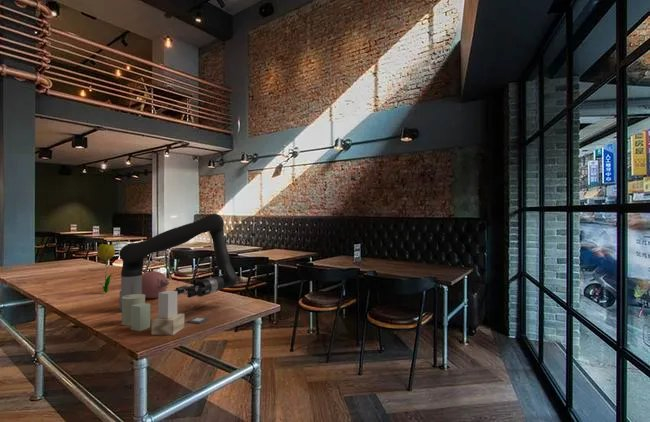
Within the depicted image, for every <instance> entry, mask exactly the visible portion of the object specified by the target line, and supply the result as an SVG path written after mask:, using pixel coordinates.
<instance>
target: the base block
mask: <svg viewBox="0 0 650 422" xmlns="http://www.w3.org/2000/svg"><path fill="white" fill-rule="evenodd" d="M184 328H185V313H177V316H174V317H171V318H169V319H166V318H158V316H156V317H154V318H152V319H151V335H156V336H157V335H160V336H161V335H163V336H174V335H176V334H177V333H179V332H180V331H181V330H182V329H184Z"/></svg>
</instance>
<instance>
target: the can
mask: <svg viewBox="0 0 650 422" xmlns="http://www.w3.org/2000/svg"><path fill="white" fill-rule="evenodd" d="M139 303H146V298H145V295H144V294H131V295H126V296H123V297H122V311H121V323H120V324H121V325H122V326H130V327H131V306H132V305H135V304H139Z"/></svg>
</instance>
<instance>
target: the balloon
mask: <svg viewBox="0 0 650 422" xmlns="http://www.w3.org/2000/svg"><path fill="white" fill-rule="evenodd" d="M169 284H170V280H169V279H168V278H167V277H166V275H164V274H163V273H162V272H161V271H156V270H152V271H151V270H150V271H148V272H145V273H144V274H142V294H144V295H145V299H150V300H151V299H156V298H159V293H161V292H164V291H167V288H168V286H169Z"/></svg>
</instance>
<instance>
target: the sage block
mask: <svg viewBox="0 0 650 422" xmlns="http://www.w3.org/2000/svg"><path fill="white" fill-rule="evenodd" d="M149 328H151V303H149V302H147V303H146V302H145V303H139V304H135V305H132V306H131V325H130V330H131V331H136V332H141V331H145V330H147V329H149Z"/></svg>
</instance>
